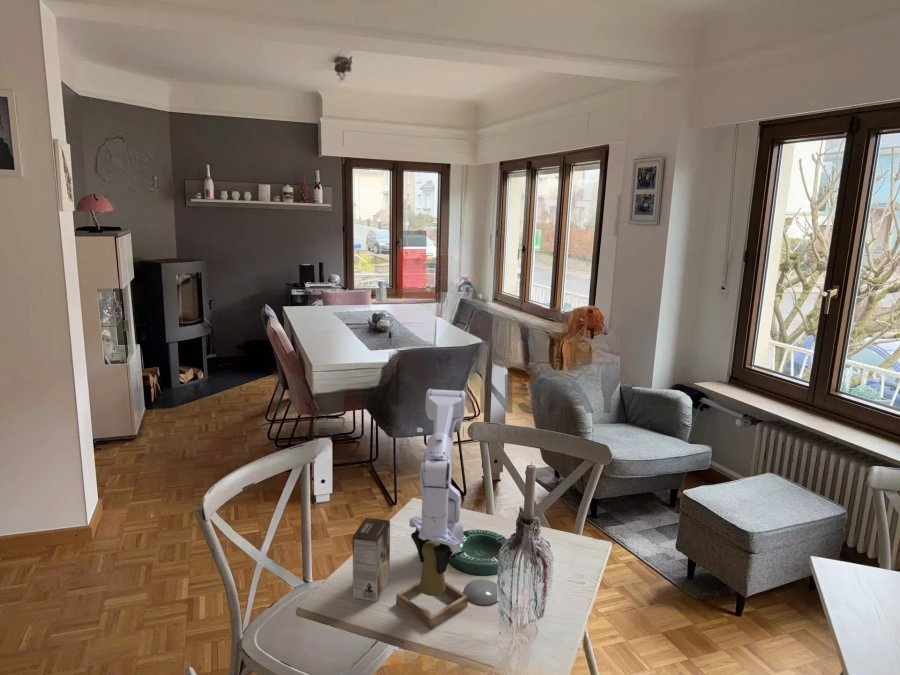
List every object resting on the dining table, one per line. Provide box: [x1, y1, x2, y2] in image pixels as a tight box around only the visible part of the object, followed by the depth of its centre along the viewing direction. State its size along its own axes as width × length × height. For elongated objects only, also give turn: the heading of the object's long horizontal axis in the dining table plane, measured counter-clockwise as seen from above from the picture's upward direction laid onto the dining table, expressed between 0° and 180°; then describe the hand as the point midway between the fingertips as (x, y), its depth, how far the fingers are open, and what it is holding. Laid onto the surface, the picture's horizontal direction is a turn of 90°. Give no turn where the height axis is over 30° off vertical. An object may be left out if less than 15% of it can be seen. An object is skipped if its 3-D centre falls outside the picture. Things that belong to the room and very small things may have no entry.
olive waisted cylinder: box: [419, 540, 446, 597], centre depth 139 cm, size 6×6×11 cm
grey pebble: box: [463, 579, 498, 606], centre depth 147 cm, size 9×9×1 cm
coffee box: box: [352, 517, 391, 602], centre depth 145 cm, size 9×6×16 cm
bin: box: [395, 580, 469, 630], centre depth 141 cm, size 12×12×2 cm
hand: (433, 566), depth 139 cm, fingers closed on olive waisted cylinder, 5 cm apart
